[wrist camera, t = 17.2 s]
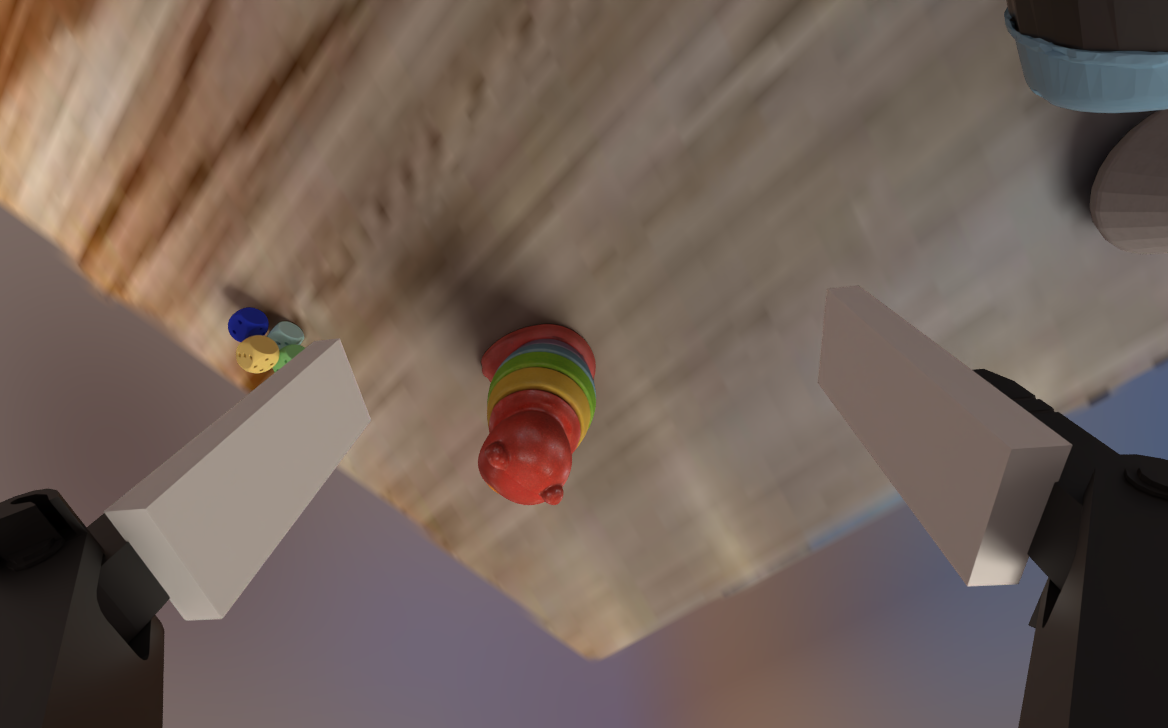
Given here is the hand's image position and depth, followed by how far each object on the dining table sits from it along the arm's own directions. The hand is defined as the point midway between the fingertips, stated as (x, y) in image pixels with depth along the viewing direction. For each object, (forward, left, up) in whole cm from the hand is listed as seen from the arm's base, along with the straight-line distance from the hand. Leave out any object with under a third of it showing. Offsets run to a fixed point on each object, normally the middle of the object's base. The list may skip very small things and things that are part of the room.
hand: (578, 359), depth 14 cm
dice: (+31, -13, -32) cm, 46 cm away
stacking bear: (+16, +8, -32) cm, 37 cm away
